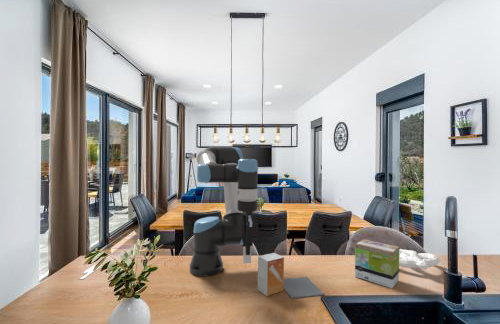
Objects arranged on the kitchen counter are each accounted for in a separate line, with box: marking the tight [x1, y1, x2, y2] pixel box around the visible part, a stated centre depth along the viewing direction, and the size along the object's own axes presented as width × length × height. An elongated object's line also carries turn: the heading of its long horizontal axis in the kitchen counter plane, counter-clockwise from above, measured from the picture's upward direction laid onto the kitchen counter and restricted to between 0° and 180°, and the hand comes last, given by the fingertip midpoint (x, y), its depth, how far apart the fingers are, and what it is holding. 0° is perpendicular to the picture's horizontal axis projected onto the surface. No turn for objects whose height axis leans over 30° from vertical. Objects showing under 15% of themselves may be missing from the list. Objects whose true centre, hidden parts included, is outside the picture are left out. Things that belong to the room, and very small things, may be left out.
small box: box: [257, 252, 285, 297], centre depth 100 cm, size 8×6×13 cm
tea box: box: [354, 238, 400, 289], centre depth 110 cm, size 15×10×15 cm, turn 47°
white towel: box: [399, 248, 441, 270], centre depth 126 cm, size 28×24×6 cm
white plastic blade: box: [79, 264, 103, 280], centre depth 115 cm, size 5×15×1 cm, turn 1°
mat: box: [283, 276, 325, 299], centre depth 102 cm, size 15×13×1 cm
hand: (247, 262), depth 97 cm, fingers closed
